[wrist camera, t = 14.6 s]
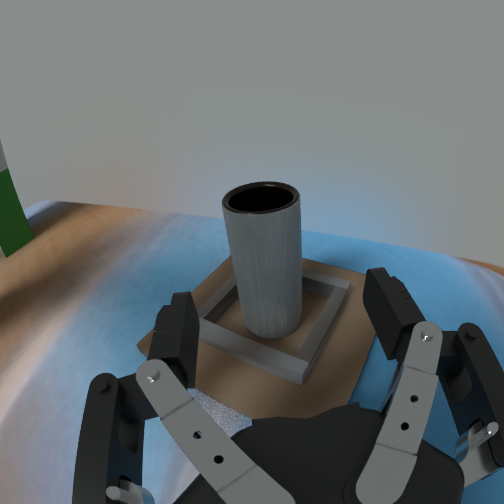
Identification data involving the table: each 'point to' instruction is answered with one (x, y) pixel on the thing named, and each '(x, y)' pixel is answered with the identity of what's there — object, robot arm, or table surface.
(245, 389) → the base
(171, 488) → the table surface
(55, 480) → the table surface
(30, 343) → the table surface
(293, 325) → the grey cylinder
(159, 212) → the table surface
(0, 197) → the hardback book
